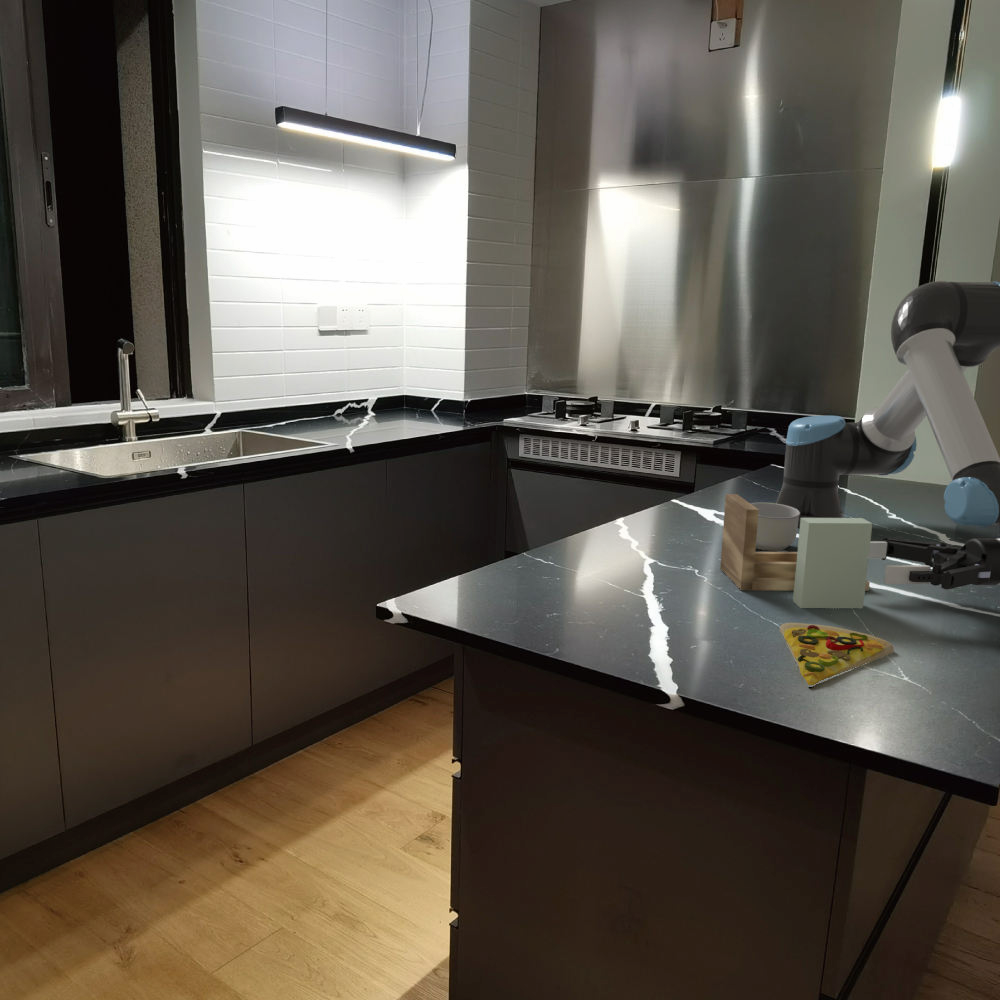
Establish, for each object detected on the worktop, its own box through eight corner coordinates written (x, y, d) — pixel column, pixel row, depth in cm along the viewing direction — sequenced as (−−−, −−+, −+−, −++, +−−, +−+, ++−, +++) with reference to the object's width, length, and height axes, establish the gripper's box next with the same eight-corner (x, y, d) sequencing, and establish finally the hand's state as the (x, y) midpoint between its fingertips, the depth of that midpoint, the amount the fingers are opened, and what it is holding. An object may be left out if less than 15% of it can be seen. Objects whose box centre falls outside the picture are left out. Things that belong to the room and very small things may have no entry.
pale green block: (853, 601, 141) (862, 518, 138) (862, 608, 138) (872, 523, 135) (792, 601, 141) (800, 517, 138) (800, 608, 137) (809, 523, 134)
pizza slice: (894, 652, 122) (897, 632, 121) (873, 709, 104) (876, 686, 104) (782, 630, 130) (784, 611, 129) (745, 680, 112) (746, 658, 111)
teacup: (799, 544, 175) (803, 505, 173) (793, 557, 166) (796, 517, 164) (729, 535, 181) (732, 498, 179) (719, 548, 171) (722, 509, 170)
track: (839, 569, 158) (847, 495, 155) (868, 590, 146) (877, 510, 143) (720, 569, 157) (725, 494, 154) (740, 590, 146) (746, 509, 143)
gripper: (1043, 610, 127) (902, 610, 126) (949, 561, 151) (830, 561, 150) (1051, 561, 125) (908, 561, 124) (955, 520, 150) (835, 519, 149)
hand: (865, 561), depth 137 cm, fingers open, 13 cm apart
